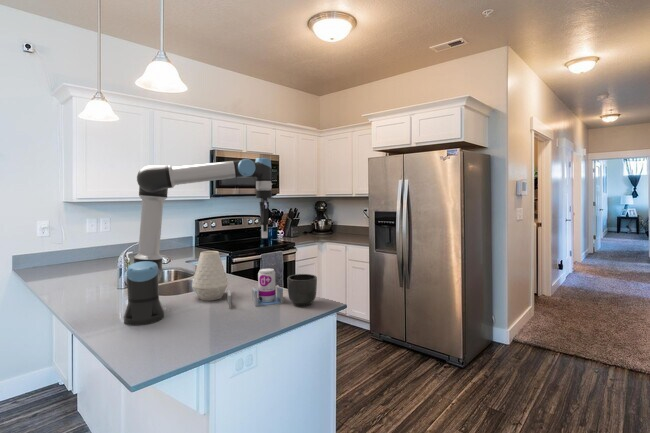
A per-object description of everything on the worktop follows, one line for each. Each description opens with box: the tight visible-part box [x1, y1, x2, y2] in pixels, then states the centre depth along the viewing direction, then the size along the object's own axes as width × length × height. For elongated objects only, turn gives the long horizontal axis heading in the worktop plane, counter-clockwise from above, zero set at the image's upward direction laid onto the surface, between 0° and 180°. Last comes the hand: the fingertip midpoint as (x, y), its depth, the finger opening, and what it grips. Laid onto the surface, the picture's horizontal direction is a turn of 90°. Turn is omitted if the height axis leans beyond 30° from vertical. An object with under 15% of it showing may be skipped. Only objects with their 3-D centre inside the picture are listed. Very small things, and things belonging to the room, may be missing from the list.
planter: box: [286, 273, 318, 307], centre depth 175 cm, size 14×14×13 cm
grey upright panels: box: [226, 284, 284, 310], centre depth 178 cm, size 25×12×7 cm, turn 108°
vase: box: [191, 250, 229, 302], centre depth 187 cm, size 17×17×23 cm
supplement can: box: [257, 268, 277, 302], centre depth 180 cm, size 8×8×15 cm
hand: (264, 237), depth 183 cm, fingers closed
